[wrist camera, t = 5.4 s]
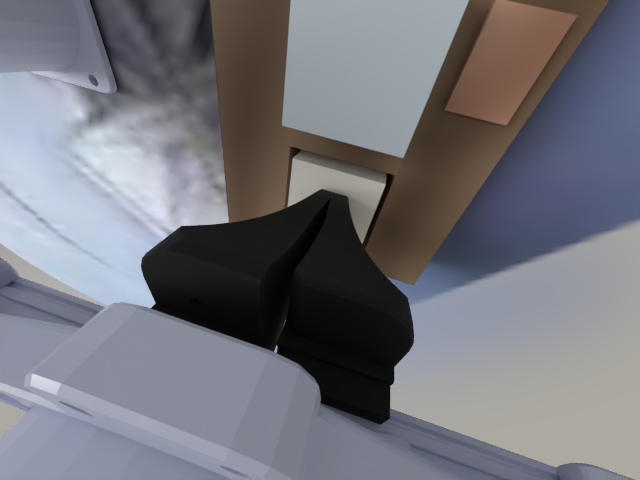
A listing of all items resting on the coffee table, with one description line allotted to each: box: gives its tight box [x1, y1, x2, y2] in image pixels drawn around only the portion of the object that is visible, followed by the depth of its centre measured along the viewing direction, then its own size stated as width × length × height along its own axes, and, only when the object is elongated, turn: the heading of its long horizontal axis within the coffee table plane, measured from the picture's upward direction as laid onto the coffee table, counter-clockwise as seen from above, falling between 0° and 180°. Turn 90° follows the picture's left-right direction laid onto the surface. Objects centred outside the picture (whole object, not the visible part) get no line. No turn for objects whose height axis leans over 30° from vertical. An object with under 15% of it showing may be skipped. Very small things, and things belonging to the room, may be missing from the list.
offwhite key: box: [288, 150, 386, 243], centre depth 12 cm, size 4×4×3 cm
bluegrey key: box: [282, 0, 469, 158], centre depth 7 cm, size 4×4×3 cm
